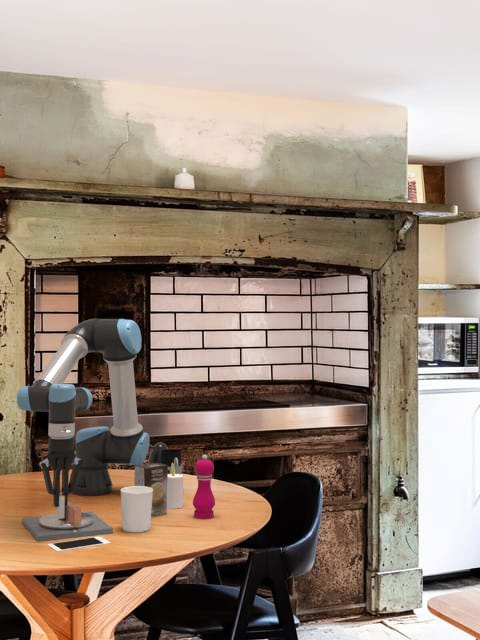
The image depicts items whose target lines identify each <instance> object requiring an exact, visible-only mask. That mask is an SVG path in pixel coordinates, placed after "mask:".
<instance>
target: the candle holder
mask: <svg viewBox="0 0 480 640" xmlns="http://www.w3.org/2000/svg"><path fill="white" fill-rule="evenodd" d="M119 491H120V503H121V508H120V509H121V526H122V527H121V529H122V530H123V531H124V532H127V533H144V531H145V532H148V531H149V530H150V529H151V519H152V517H151V510H152V496H153V489H152V488H150V487H145V486H134V485H132V486H125V487H122V488H121V489H120V490H119Z"/></svg>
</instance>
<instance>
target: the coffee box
mask: <svg viewBox="0 0 480 640" xmlns="http://www.w3.org/2000/svg"><path fill="white" fill-rule="evenodd" d="M167 478H168V465H165V464H160V463H151V464H148V463H146V464H144V463H142V464H140V465H134V482H133V483H134V485H133V486H145V487H150V488H152V489H153V496H152V510H151V518H154V517H158V516H157V515H159V516H161V515H162V516H163V514H164V515H167V510H168V508H167Z"/></svg>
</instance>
